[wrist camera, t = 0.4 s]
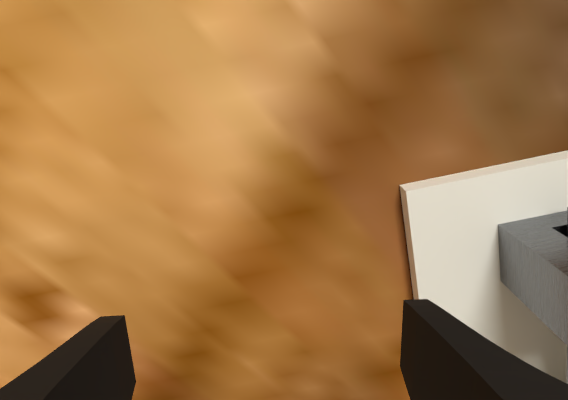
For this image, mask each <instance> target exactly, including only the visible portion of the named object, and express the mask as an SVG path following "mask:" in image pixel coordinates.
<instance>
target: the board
mask: <svg viewBox="0 0 568 400" xmlns="http://www.w3.org/2000/svg"><path fill="white" fill-rule="evenodd" d="M400 193H401V201H402V209H403V217H404V225H405V233H406V241H407V249H408V257H409V265H410V273H411V281H412V289H413V297H414V300H416V299H428V300H430V301H431V302H433V303H435V304H436V305H438V306H439V307H441V308H442V309H444V310H445V311H447V312H448V313H450V314H451V315H452V316H454V317H455V318H457V319H458V320H460V321H461V322H463V323H464V324H466V325H467V326H469V327H470V328H472V329H473V330H475V331H476V332H478V333H479V334H481V335H482V336H484V337H485V338H487V339H488V340H490V341H491V342H493V343H495V344H496V345H498V346H499V347H501V348H503V349H504V350H506V351H508V352H509V353H511V354H513V355H514V356H516V357H518V358H520V359H521V360H523V361H525V362H526V363H528V364H530V365H532V366H534V367H535V368H537V369H539V370H541V371H543V372H545V373H547V374H549V375H551V376H553V377H555V378H557V379H559V380H561V381H563V382H565V383H567V345H566V344H565V343H564V342H563V341H562V340H561V339H560V338H559V337H558V336H557V335H556V334H555V333H554V332H553V331H552V330H551V329H550V328H548V327H547V326H546V325H545V324H544V323H543V322H542V321H541V320H540V319H539V318H538V317H537V316H536V315H535V314H534V313H533V312H532V311H531V310H530V309H529V308H528V307H527V306H526V305H525V304H524V303H523V302H522V301H521V300H520V299H518V298H517V297H516V296H515V295H514V294H513V293H512V292H511V291H510V290H509V289H508V288H507V287H506V286H505V285H504V284H503V283H502V282H501V281H500V261H499V242H498V224H503V223H508V222H512V221H517V220H522V219H527V218H532V217H537V216H542V215H547V214H552V213H557V212H562V211H567V207H568V151H563V152H558V153H553V154H548V155H543V156H539V157H534V158H529V159H524V160H519V161H514V162H509V163H505V164H500V165H495V166H490V167H485V168H480V169H475V170H470V171H466V172H461V173H456V174H451V175H446V176H441V177H436V178H432V179H427V180H422V181H417V182H412V183H407V184H402V185H400Z"/></svg>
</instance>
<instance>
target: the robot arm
mask: <svg viewBox="0 0 568 400" xmlns="http://www.w3.org/2000/svg"><path fill="white" fill-rule="evenodd" d="M400 367H401V371H402V374H403V377H404V381H405V384H406V387H407V390H408V393H409V396H410V399H411V400H568V384H567V383H565V382H563V381H561V380H559V379H557V378H555V377H553V376H551V375H549V374H547V373H545V372H543V371H541V370H539V369H537V368H535V367H534V366H532V365H530V364H528V363H526V362H525V361H523V360H521V359H520V358H518V357H516V356H514V355H513V354H511V353H509V352H508V351H506V350H504V349H503V348H501V347H499V346H498V345H496V344H495V343H493V342H491V341H490V340H488V339H487V338H485V337H484V336H482V335H481V334H479V333H478V332H476V331H475V330H473V329H472V328H470V327H469V326H467V325H466V324H464V323H463V322H461V321H460V320H458V319H457V318H455V317H454V316H452V315H451V314H450V313H448V312H447V311H445V310H444V309H442V308H441V307H439V306H438V305H436V304H435V303H433V302H431V301H430V300H428V299H416V300H404V304H403V322H402V341H401V359H400ZM135 383H136V379H135V373H134V367H133V362H132V356H131V350H130V344H129V338H128V333H127V327H126V321H125V315H123V316H104V317H99V318H98V319H96V320H95V321H93V322H92V323H90V324H89V325H88V326H86V327H85V328H84V329H82V330H81V331H79V332H78V333H77V334H75V335H74V336H73V337H72V338H70V339H69V340H68V341H66V342H65V343H64V344H62V345H61V346H60V347H58V348H57V349H56V350H54V351H53V352H52V353H50V354H49V355H48V356H46V357H45V358H44V359H42V360H41V361H40V362H38V363H37V364H35V365H34V366H33V367H31V368H30V369H28V370H27V371H25V372H24V373H22V374H21V375H20V376H18V377H17V378H15V379H14V380H12V381H11V382H9V383H8V384H7V385H5V386H4V387H2V388H1V389H0V400H132V395H133V391H134V387H135Z"/></svg>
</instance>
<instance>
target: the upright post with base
mask: <svg viewBox="0 0 568 400" xmlns="http://www.w3.org/2000/svg"><path fill="white" fill-rule="evenodd" d="M567 237H568V207H567ZM567 384H568V346H567Z"/></svg>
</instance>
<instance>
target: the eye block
mask: <svg viewBox="0 0 568 400" xmlns="http://www.w3.org/2000/svg"><path fill="white" fill-rule="evenodd" d="M498 242H499V261H500V281H501V282H502V283H503V284H504V285H505V286H506V287H507V288H508V289H509V290H510V291H511V292H512V293H513V294H514V295H515V296H516V297H517V298H518V299H520V300H521V301H522V302H523V303H524V304H525V305H526V306H527V307H528V308H529V309H530V310H531V311H532V312H533V313H534V314H535V315H536V316H537V317H538V318H539V319H540V320H541V321H542V322H543V323H544V324H545V325H546V326H547V327H548V328H550V329H551V330H552V331H553V332H554V333H555V334H556V335H557V336H558V337H559V338H560V339H561V340H562V341H563V342H564V343H565V344H566V345H567V346H568V237H567V211H562V212H557V213H552V214H547V215H542V216H537V217H532V218H527V219H522V220H517V221H512V222H508V223H503V224H498Z"/></svg>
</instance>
